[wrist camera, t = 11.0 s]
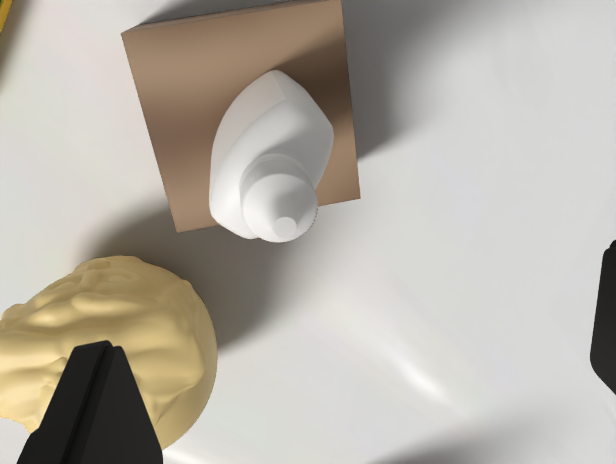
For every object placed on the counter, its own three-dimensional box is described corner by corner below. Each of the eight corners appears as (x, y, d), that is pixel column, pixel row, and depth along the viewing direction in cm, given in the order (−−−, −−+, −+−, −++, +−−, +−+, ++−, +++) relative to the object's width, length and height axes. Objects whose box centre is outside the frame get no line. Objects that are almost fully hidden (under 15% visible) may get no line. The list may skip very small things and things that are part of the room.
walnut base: (341, 169, 32) (360, 198, 28) (183, 197, 32) (176, 232, 27) (321, -4, 28) (340, -2, 24) (137, 25, 27) (120, 33, 23)
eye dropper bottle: (185, 109, 25) (157, 206, 14) (292, 58, 24) (346, 117, 14) (228, 186, 27) (232, 322, 16) (327, 139, 26) (398, 247, 16)
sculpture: (201, 218, 33) (192, 316, 23) (229, 365, 38) (232, 495, 28) (12, 243, 31) (-80, 358, 22) (69, 392, 37) (14, 536, 27)
